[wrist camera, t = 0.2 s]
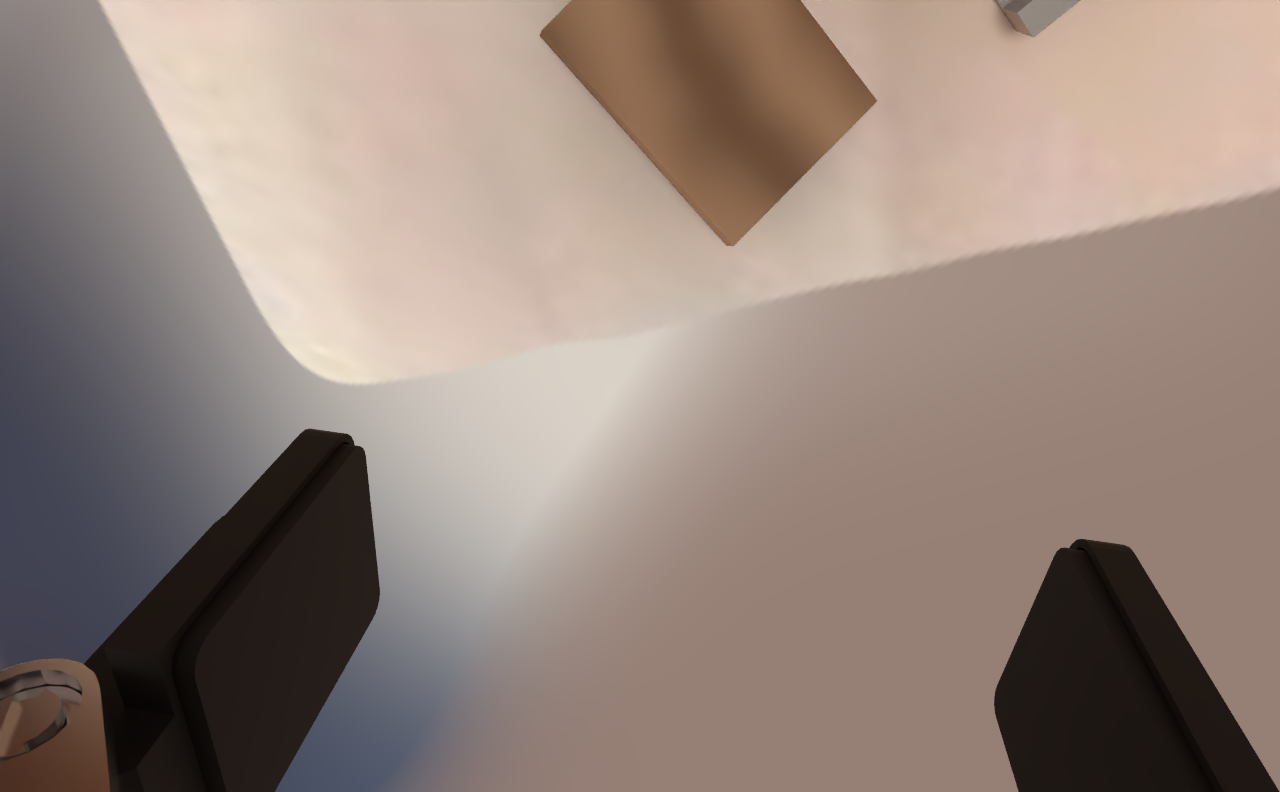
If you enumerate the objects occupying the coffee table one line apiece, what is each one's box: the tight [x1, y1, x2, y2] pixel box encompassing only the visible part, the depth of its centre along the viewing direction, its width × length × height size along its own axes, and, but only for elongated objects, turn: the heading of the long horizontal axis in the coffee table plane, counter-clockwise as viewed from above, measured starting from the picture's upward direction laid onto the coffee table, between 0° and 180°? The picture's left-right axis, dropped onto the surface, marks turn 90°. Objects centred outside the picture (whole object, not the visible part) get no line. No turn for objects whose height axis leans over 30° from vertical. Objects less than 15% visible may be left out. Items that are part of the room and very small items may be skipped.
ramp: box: [540, 0, 877, 246], centre depth 35 cm, size 9×12×5 cm
